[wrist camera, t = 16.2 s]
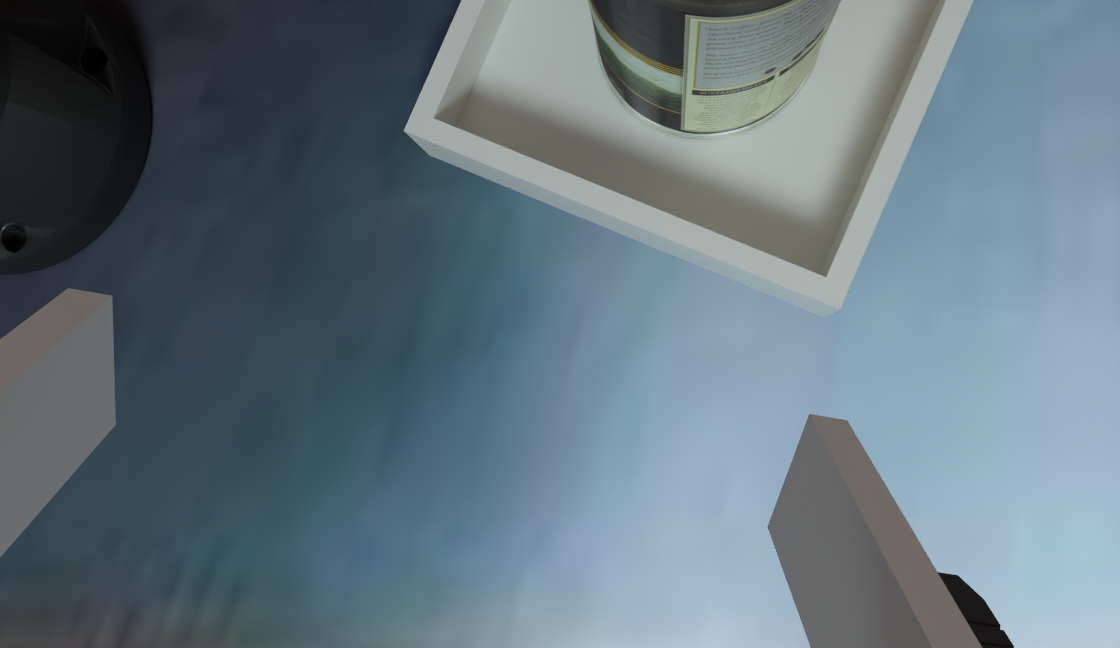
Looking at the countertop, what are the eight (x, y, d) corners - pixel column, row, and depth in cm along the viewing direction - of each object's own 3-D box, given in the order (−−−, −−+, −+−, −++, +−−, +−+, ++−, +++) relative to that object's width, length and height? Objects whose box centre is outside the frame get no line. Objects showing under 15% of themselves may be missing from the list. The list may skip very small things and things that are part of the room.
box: (429, 155, 41) (403, 130, 38) (594, -219, 42) (586, -283, 38) (823, 317, 38) (839, 309, 35) (997, -87, 39) (1034, -141, 35)
